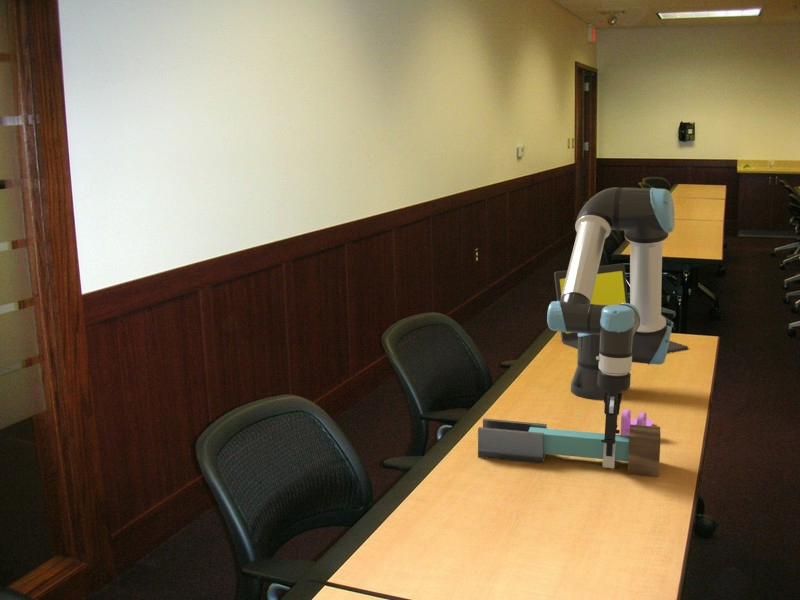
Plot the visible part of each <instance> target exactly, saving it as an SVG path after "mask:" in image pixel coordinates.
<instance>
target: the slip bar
mask: <svg viewBox="0 0 800 600" xmlns="http://www.w3.org/2000/svg"><path fill="white" fill-rule="evenodd" d="M528 432H537V433H544V450H543V453H544V454H546V455H556V456H565V457H575V458H576V457H577V458H587V459H594V460H595V459H598V460H603V451H604V442H601V440H602V439H604V437H605V433H604V432H603V433H601V432H591V431H590V432H588V431H581V430H580V431H579V430H578V431H577V430H568V429H557V428H556V429H555V428H548V427H547V428H536V427H530V429H529V431H528ZM615 440H616V448H615V462H616V461H617V462H627V463H628V453H629V436H625V435H620V434H616V436H615Z"/></svg>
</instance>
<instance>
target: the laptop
mask: <svg viewBox="0 0 800 600" xmlns="http://www.w3.org/2000/svg"><path fill="white" fill-rule="evenodd" d="M567 271H568V269H567V270H560V271H559V270H558V271H554V273H553V276H554V286H555V293H556V301H560V300H561V295H562V291H563V287H564V283H565V279H566V275H567ZM628 293H629V291H628V282H627V275H626V266H625V264H624V263H614V264H608V265H607V264H606V265H599V268H598V272H597V277H596V281H595V286H594V290H593V295H592V299H591V303H590V304H598V305H618V304H622V303H629V304H630V299H629V294H628ZM560 337H561V342H562V344H564V345H566V346H568V347H572V348H574V349H577V350H578V333H571V332H566V333H565V332H560ZM687 349H688V350H689V346H687V345H685V344H681V343H678V342H674V341H671V340H669V345H668V350H667V354H671V353H670V352H672V353H677V352H681V350H682V351H688V350H687ZM676 351H677V352H676Z"/></svg>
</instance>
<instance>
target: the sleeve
mask: <svg viewBox="0 0 800 600" xmlns="http://www.w3.org/2000/svg"><path fill="white" fill-rule="evenodd" d="M530 427H536V428H547V429H548V424H547V423H539V422H538V423H537V422H530V421H529V422H528V421H514V420H505V419H504V420H503V419H493V418H483V420H482V427H481V426H479V427H478V429H477V458H480V459H494V460H503V461H512V462H522V463H530V464H539V465H540V464H542V465H543V463H544V460H545V458H546V455H547V454H544V453H543V450H544V433H537V432H528V431H529V429H530Z"/></svg>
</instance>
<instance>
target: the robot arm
mask: <svg viewBox="0 0 800 600" xmlns="http://www.w3.org/2000/svg"><path fill="white" fill-rule="evenodd" d="M673 199H674V198H673V195H672V193H671V192H670V191H669V190H668V189H667V188H666V189H665V188H655V187H609V188H606V189H603V190H601V191H599V192H597V193H595V195H593V196H592V197H591V198H590V199H588V201H587V202H585V204H584V206H582V208H581V209H580V211H579V213H578V215H577V217H576V220H575V224H574V227H575V228H574V229H575V231H576V236H575V241H574V245H573V248H572V252H571V256H570V260H569V264H568V266H567V267H568V268H567V270H568V271H567V275H566V279H565V283H564V287H563V291H562V295H561V300H560V301H557V300H556V301H555V300H554V301H551V302H550V303H549V305H548V308H547V316H546V318H547V319H546V322H547V326H548V329H550V330H551V331H554V332H555V331H556V332H560V333H561V332H565V333H566V332H571V333H578V349H577V364H576V368H575V371H574V374H573V376H572V379H571V382H570V392H572V393H573V395H576V396H578V397H581V398H585V399H590V400H591V399H592V400H603V403H604V412H603V413H604V415H605V423H604V434H605V437H604V439H602V440H601V442H604V451H603V459H602V468H607V469H615V464H616V461H615V448H616V440H615V436H616V435H620V434H621V429H618V416H619V415H620V410H621V403H622V395H623V394H622V393H623V392H624V391H628V390H629V389H630V387H631V375H632V374H631V373H630V372H631V371H632V365H633V364H632V363H636V364H643V365H644V364H645V365H646V364H647V365H648V366H649V365H657V366H658V365H662V364H664V363H665V362H666V359H667V354H668V353H667V350H668V345H669V341H671V340H670V338H671V334H672V326H670V325H669V324H668V325H667V320H666V318H665V317H664V316H663V315H662V278H663V277H662V276H663V275H662V273H663V272H662V271H663V270H662V269H663V243H664V242H665V241H666V240H667V239H668V238H669V234H670V233H672V232H674V230H675V223H676V222H675V206H674V205H675V204H674V200H673ZM612 231H624V238H625V240H626V241H628V242H629V249H630V250H629V255H630V256H629V258H630V259H629V303H622V304H618V305H598V304H590V303H591V299H592V295H593V290H594V286H595V281H596V277H597V272H598V268H599V266H600V263H601V258H602V254H603V250H604V244H605V241H606V239H607V238H608V237H610V235H611V232H612Z"/></svg>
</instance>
